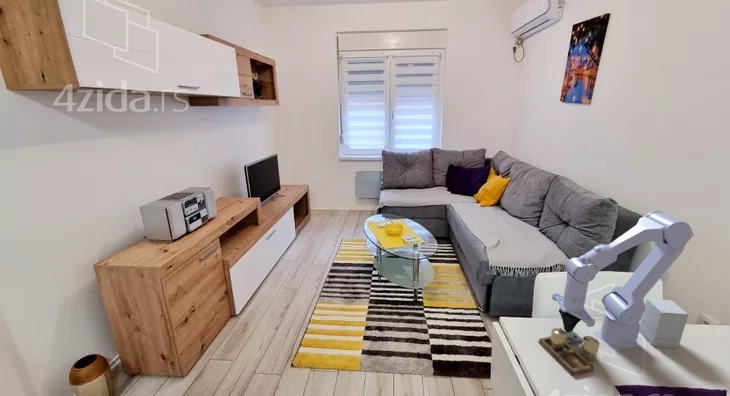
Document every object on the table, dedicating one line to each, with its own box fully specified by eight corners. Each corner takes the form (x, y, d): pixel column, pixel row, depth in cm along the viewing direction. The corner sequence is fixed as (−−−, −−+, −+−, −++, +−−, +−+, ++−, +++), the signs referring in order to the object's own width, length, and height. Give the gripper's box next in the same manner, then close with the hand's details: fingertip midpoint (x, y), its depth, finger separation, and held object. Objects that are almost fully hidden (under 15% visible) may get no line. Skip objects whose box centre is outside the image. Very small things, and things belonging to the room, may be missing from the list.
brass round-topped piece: (557, 342, 102) (559, 327, 101) (567, 351, 99) (570, 335, 97) (546, 344, 102) (548, 329, 100) (555, 354, 98) (558, 338, 96)
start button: (567, 331, 107) (568, 326, 106) (576, 338, 103) (577, 333, 103) (557, 333, 106) (558, 328, 105) (566, 341, 103) (567, 336, 102)
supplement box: (679, 348, 99) (690, 314, 95) (651, 346, 100) (661, 312, 96) (663, 332, 106) (672, 300, 102) (637, 329, 107) (646, 297, 103)
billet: (587, 350, 99) (590, 335, 97) (599, 360, 95) (602, 344, 93) (576, 353, 98) (579, 337, 96) (587, 363, 94) (591, 347, 93)
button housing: (567, 330, 108) (567, 326, 108) (581, 342, 103) (582, 339, 102) (551, 333, 107) (552, 329, 107) (566, 346, 101) (566, 342, 101)
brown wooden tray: (557, 338, 105) (558, 334, 104) (594, 372, 92) (595, 367, 91) (537, 343, 103) (537, 338, 103) (571, 378, 90) (572, 372, 90)
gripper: (546, 284, 106) (541, 318, 110) (583, 311, 92) (576, 348, 96) (564, 281, 107) (559, 314, 111) (603, 307, 93) (595, 344, 98)
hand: (568, 330), depth 104 cm, fingers closed
